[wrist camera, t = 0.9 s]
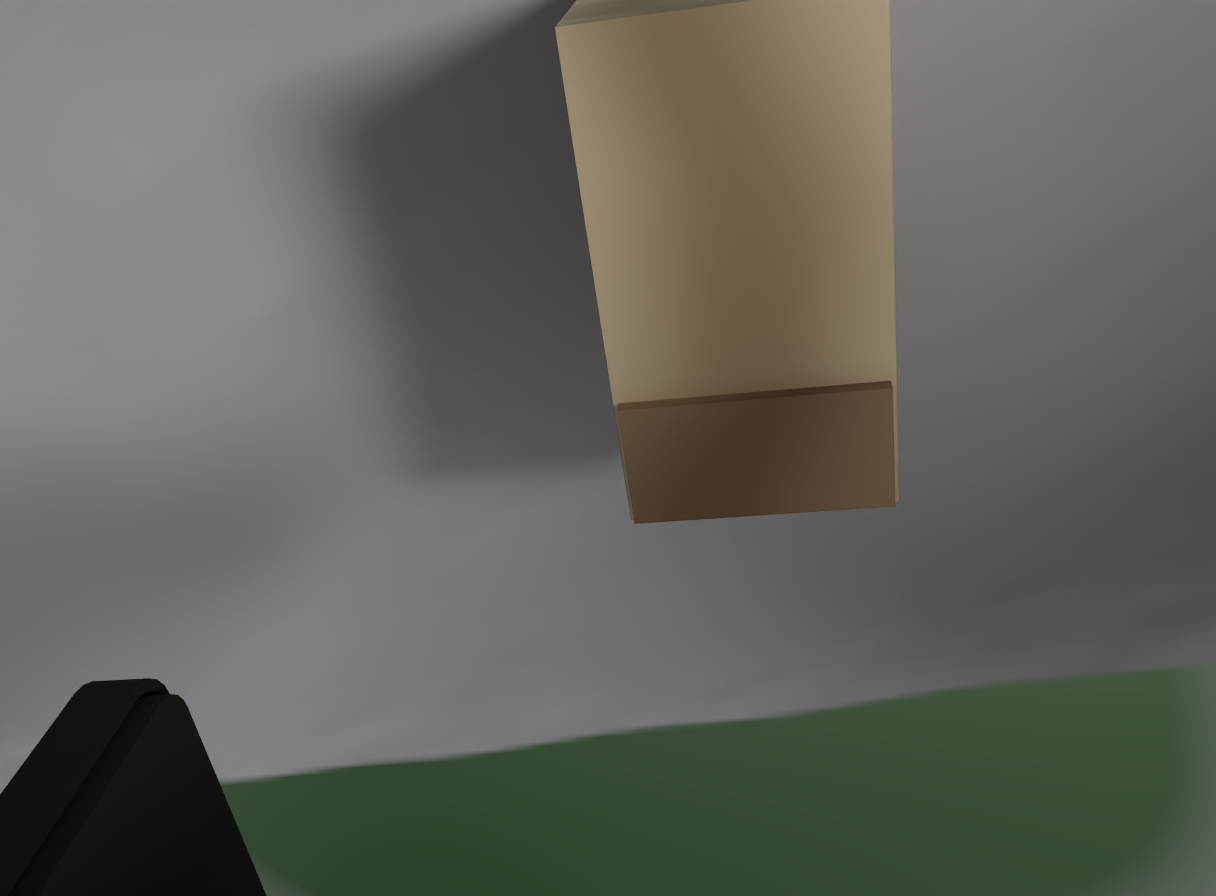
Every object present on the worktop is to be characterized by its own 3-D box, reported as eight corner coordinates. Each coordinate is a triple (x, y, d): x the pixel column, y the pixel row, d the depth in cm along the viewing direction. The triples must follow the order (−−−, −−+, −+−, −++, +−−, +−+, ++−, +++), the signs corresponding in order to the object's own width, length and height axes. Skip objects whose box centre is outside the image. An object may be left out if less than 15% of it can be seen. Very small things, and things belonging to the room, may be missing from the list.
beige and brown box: (846, -64, 23) (891, -16, 16) (860, 345, 27) (901, 510, 20) (600, -29, 23) (552, 29, 17) (652, 363, 28) (629, 528, 21)
